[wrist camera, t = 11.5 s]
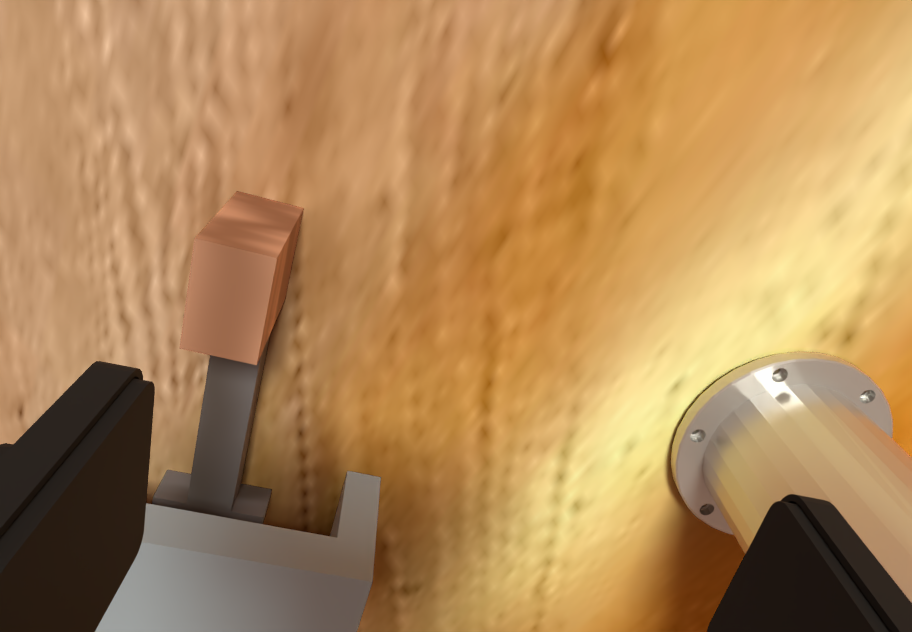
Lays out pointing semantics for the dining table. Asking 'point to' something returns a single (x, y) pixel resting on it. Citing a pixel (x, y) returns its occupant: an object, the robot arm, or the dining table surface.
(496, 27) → the dining table surface
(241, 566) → the bridge block
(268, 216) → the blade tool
